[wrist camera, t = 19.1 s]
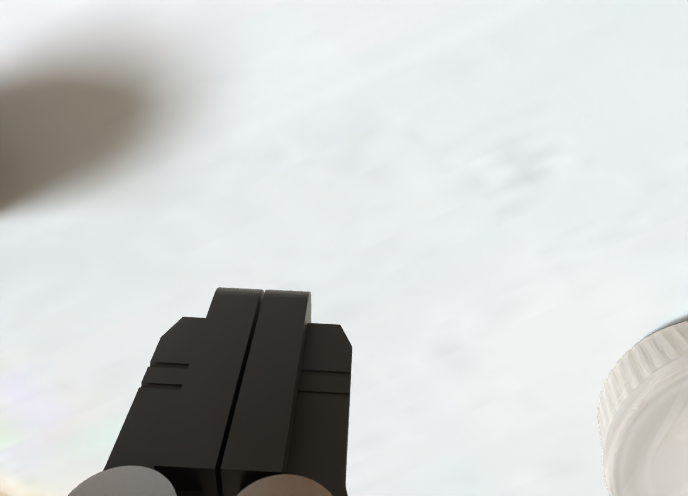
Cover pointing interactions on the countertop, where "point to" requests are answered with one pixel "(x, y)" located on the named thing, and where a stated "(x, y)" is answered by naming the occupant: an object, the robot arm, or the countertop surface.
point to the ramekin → (647, 417)
